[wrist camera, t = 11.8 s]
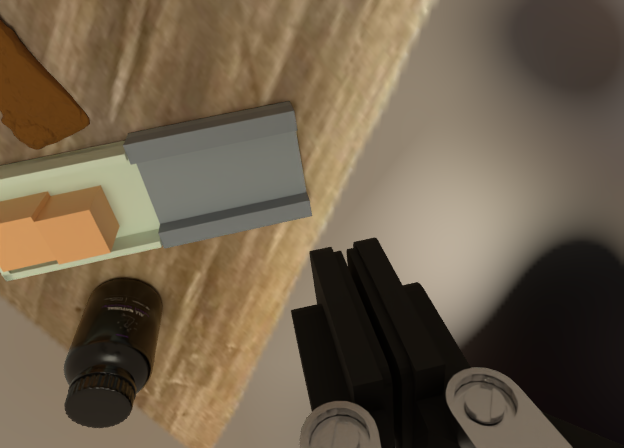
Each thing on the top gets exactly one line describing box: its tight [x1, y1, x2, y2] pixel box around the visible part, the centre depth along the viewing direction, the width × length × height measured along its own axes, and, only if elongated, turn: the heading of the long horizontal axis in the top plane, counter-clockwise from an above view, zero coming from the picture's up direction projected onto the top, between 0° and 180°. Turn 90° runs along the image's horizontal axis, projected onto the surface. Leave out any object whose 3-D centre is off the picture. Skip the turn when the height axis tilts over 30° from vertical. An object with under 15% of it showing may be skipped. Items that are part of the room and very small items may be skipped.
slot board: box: [123, 101, 312, 248], centre depth 38 cm, size 10×13×2 cm
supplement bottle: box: [64, 279, 162, 428], centre depth 39 cm, size 7×7×12 cm
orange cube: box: [34, 185, 119, 265], centre depth 36 cm, size 4×4×4 cm
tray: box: [0, 141, 162, 281], centre depth 37 cm, size 9×13×3 cm, turn 98°
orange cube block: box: [0, 191, 56, 272], centre depth 36 cm, size 4×4×4 cm
